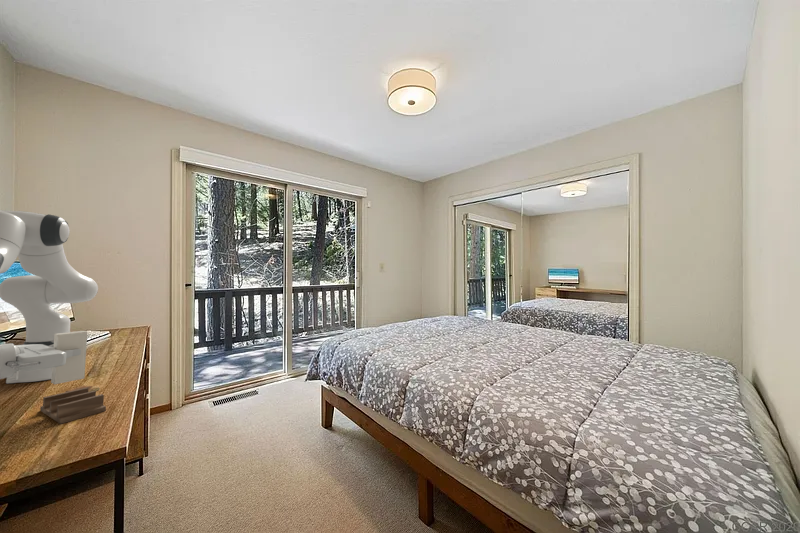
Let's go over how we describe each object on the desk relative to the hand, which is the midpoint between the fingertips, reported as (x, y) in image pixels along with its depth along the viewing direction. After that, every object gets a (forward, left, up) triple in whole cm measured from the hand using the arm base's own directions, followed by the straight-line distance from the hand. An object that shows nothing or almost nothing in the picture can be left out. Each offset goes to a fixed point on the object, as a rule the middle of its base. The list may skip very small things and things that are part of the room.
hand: (77, 350), depth 89 cm
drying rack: (+3, -1, -17) cm, 17 cm away
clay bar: (0, -1, -8) cm, 9 cm away
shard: (-12, +5, -18) cm, 22 cm away
